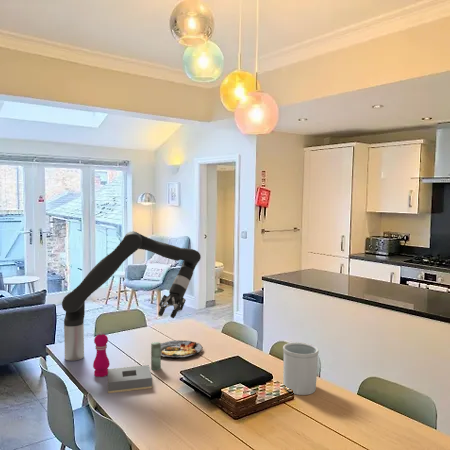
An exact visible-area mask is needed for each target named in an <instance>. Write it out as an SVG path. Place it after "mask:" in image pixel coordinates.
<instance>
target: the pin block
mask: <svg viewBox="0 0 450 450" xmlns="http://www.w3.org/2000/svg"><path fill="white" fill-rule="evenodd" d="M152 376H153V375H152V372H151V367H150V366H149V364H146V365H136V366H134V365H133V366H125V367H115V368H108V375H107V393H108V394H113V393H121V392H130V391H137V390H138V391H139V390H146V389H152V388H153V377H152Z"/></svg>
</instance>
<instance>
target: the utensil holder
mask: <svg viewBox="0 0 450 450" xmlns="http://www.w3.org/2000/svg"><path fill="white" fill-rule="evenodd" d="M282 351H283V369H282V370H283V371H282V373H283V377H282V378H283V384H284V385H285V386H286V387H287V388H289V389H292V390H293V393H294V394H293V393H292V394H293V395H298V396H299V395H300V396H307V395H312V394H314V393H315V391H316V389H317V380H318V379H317V376H318V361H319V360H318V359H319V357H318V355H319V351H320V350H319V348H318V347H317V346H315V345H313V344H310V343H307V342H299V341H296V342H294V341H293V342H288V343H285V344H284V345H283V346H282Z"/></svg>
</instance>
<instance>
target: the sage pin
mask: <svg viewBox="0 0 450 450" xmlns="http://www.w3.org/2000/svg"><path fill="white" fill-rule="evenodd" d="M161 343H162V342H160V341H154V342H152V343H150V344H151V345H150V348H151V349H150V350H151V351H150V352H151V353H150V354H151V356H150V359H151V362H150V364H151V366H150V370H152V371H159V370H161V369H162V367H161V365H162V364H161V363H162V362H161V361H162V359H161V358H162V357H161Z"/></svg>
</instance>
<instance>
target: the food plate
mask: <svg viewBox="0 0 450 450" xmlns="http://www.w3.org/2000/svg"><path fill="white" fill-rule="evenodd" d="M160 343H161V356H162V357H168V358H187V357H192V356H196V355H198V354H199V353H200V352H201V351H202V350H203V346H202V345H201V344H200V342H195V341H193V340H192V341H191V340H168V341H165V342H160Z"/></svg>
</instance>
